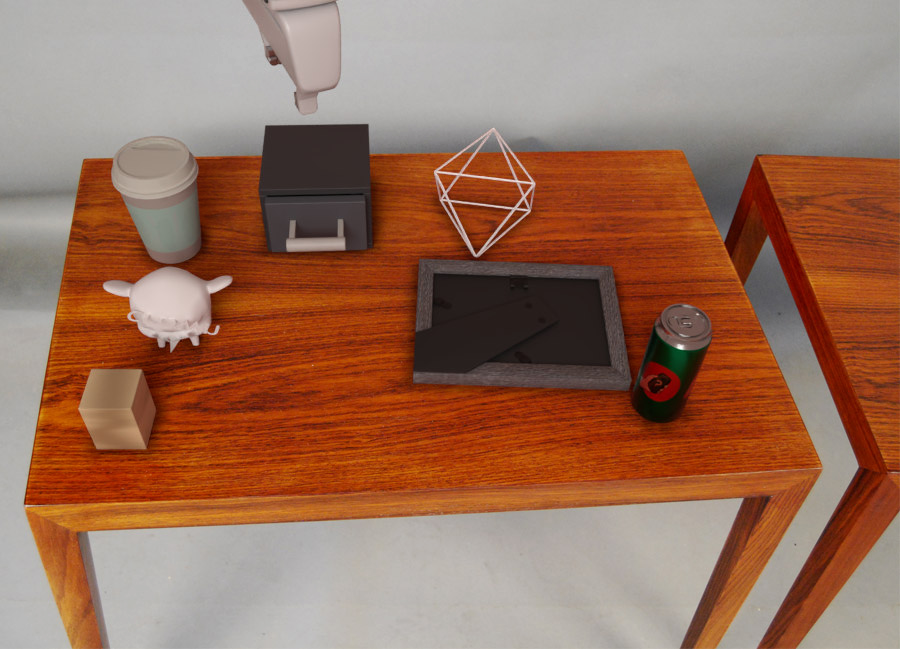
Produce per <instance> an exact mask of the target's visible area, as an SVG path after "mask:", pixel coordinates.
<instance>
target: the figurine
mask: <svg viewBox="0 0 900 649" xmlns="http://www.w3.org/2000/svg"><path fill="white" fill-rule="evenodd" d="M232 282H233V276H231V275H220V276H218V277H216V278H213V279H211V280H205V279H202V278H200V277H199V276H197V275H195V274H192V273H191V272H189V271H188V270H186V269H183V268H180V267H176V266H164V267H160V268H158V269H155V270H153V271H151V272H149V273H147V274H146V275H144V276H143V277H141V278H140V279H138V281H136V282H135V283H132V282H128V281H124V280H119V279H112V280H107V281H104V282H103V284H102V288H103V289H104V291H106V292H107V293H110V294H112V295H115V296H119V297H123V298H129V301H128V302H129V308H130V312H129V313H128V314H127V320H129V321H131V322H135V323H136V324H137V329H138V330H139V332H141V334H143V335H144V336H145V337H148V338H151V339H156V341H157V344H158V347H159V348H165V347H166V343H169V348H170V350H169V351H170V353H172V352H173V350H174V349H175V348H176V346H177V345H178V344H179V342H180V340H185V339H190V341H191V344H192V345H193V346H196V347H197V346H199V345H200V337H199V336H200V335H202V334H208V335H210V336H216V335H217V334H218V333H219V330H220V327H221V325H218V324H216V326H215V329H214V332H209V331H208V330H209V328H210V327H211V325H212V298H211V294H214V293H217V292H219V291H221V290H223V289H225V288H227V287H228V286H230V285H231V284H232ZM132 315H133V317H134V318H132Z"/></svg>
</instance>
